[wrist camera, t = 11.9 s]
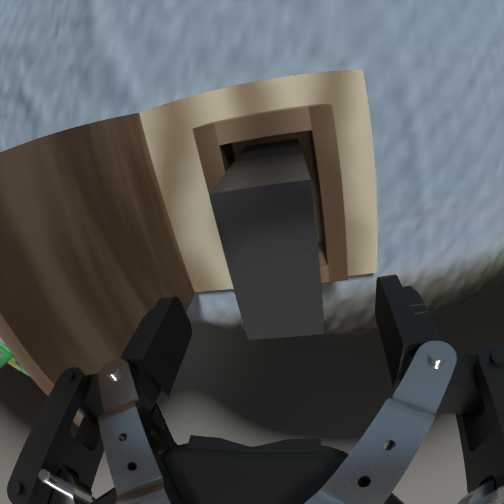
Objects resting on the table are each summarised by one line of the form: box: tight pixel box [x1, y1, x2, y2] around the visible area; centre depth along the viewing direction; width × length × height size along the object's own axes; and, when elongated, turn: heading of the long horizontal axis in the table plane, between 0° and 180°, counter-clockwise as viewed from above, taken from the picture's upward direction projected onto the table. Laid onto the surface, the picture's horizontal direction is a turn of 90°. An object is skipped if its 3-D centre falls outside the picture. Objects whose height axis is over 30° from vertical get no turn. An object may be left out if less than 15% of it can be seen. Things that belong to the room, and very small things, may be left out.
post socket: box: [0, 70, 378, 426], centre depth 16 cm, size 20×18×19 cm
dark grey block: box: [209, 138, 324, 340], centre depth 18 cm, size 4×8×12 cm, turn 11°
